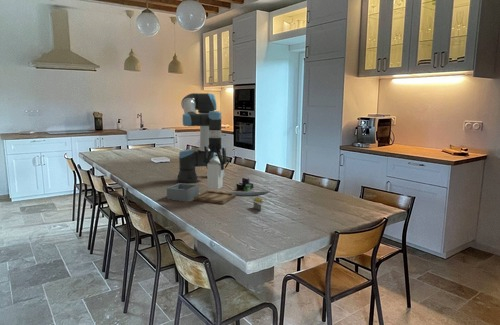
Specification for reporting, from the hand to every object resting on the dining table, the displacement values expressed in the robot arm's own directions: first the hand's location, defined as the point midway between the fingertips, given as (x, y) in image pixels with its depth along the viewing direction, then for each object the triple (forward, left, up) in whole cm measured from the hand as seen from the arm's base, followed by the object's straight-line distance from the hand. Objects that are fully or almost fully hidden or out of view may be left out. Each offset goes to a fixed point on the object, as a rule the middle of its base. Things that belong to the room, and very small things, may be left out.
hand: (215, 174), depth 216 cm
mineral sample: (+8, +29, -16) cm, 34 cm away
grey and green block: (+32, -9, -16) cm, 37 cm away
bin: (-19, -6, -15) cm, 25 cm away
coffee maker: (-25, +60, -15) cm, 67 cm away
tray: (0, 0, -15) cm, 15 cm away
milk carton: (0, 0, -8) cm, 8 cm away
